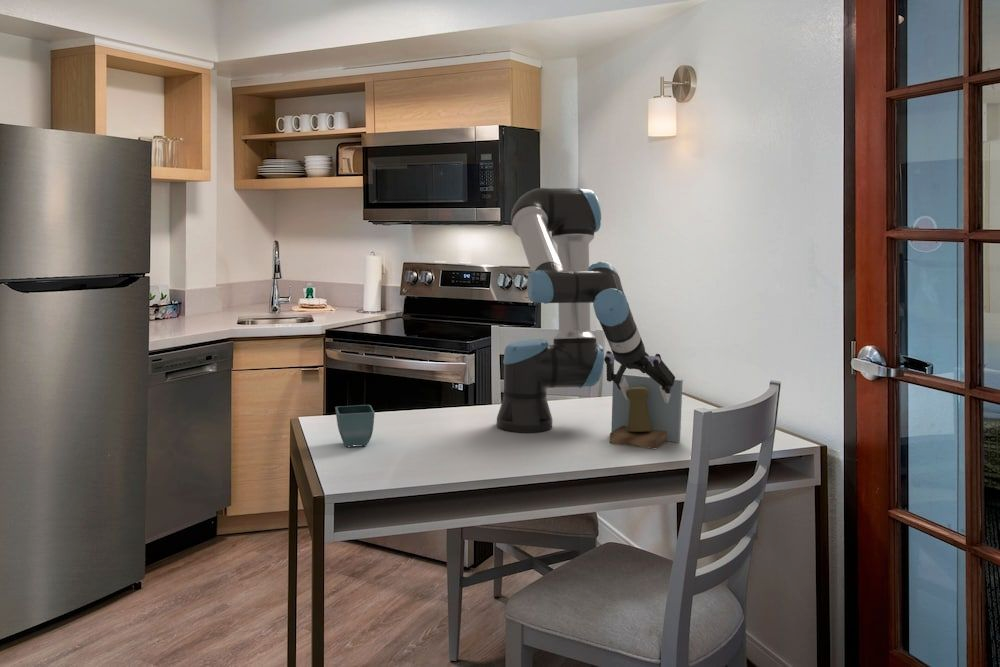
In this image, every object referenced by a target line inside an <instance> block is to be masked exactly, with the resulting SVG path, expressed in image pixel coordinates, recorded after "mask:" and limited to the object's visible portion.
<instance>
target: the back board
mask: <svg viewBox="0 0 1000 667" xmlns="http://www.w3.org/2000/svg"><path fill="white" fill-rule="evenodd" d="M614 374H617V372H614ZM622 376H625V378H626V380H627V383H628V385H629V387H630V388H633V387H644V388H646V389H647V390H648V398H647V399H646V401H647V407H648V413H649V419H650V425H651V430H659V431H667V441H666V442H670V441H672V442H671V443H677V442H678V443H680V442H681V429H682V428H681V427H682V406H683V405H682V403H683V402H682V401H683V400H682V399H683V381H684V380H683V379H681V378H675V381H674V384H673V386H671V390H670V394H671V395H670V399H669V402H668V403H665V401H664V398H663V396H662V393H661V391H660V388H659V387H660V384H658V383H657V382H656V381H655V380H654V379H652V378H651V377H650V376H649V375H642V374H641V375H640V374H632V373H631V374H629V373H623V375H622ZM611 400H612V401H611V403H612V405H611V432H613V431H614V430H616V429H618V428H619V427H621V426H628V420H629V409H630V399H628V400H626V399H625V397H624V395H623V392H622V390H619V389H618V387H617V385H616V383H614V381H612V399H611ZM611 432H610V433H611ZM679 441H680V442H679Z"/></svg>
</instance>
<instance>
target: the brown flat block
mask: <svg viewBox="0 0 1000 667" xmlns="http://www.w3.org/2000/svg"><path fill="white" fill-rule="evenodd" d="M610 442H612V443H611V444H616V443H619V444H618V445H623V444H627V445H626V446H630V445H634V446H633V447H637V446H641V447H640V448H644V447H650V448H649V449H651V448H657V447H658V448H659V447H661V446H662V445H663V444H665V443H667V442H668V441H667V431H659V430H651V431H642V432H633V431H628V426H621V427H619V428H618V429H616V430H614V431H613V432H610V433H609V443H610ZM664 442H665V443H664ZM661 444H662V445H661ZM660 445H661V446H660ZM658 448H657V449H658Z"/></svg>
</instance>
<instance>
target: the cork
mask: <svg viewBox="0 0 1000 667" xmlns="http://www.w3.org/2000/svg"><path fill="white" fill-rule="evenodd" d="M628 398H629V399H630V409H629V420H628V431H633V432H642V431H651V425H650V419H649V413H648V407H647V401H646V399H647V398H648V390H647V389H646V388H644V387H633V388H630V389H629V390H628Z"/></svg>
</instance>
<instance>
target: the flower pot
mask: <svg viewBox="0 0 1000 667" xmlns="http://www.w3.org/2000/svg"><path fill="white" fill-rule="evenodd" d="M334 408H335V409H334V410H335V416H336V417H335V418H336V424H337V429H338V432H339V436H340V437H341V440H342V443H343V444H344V446H345V447H346V446H353V445H368V444H369V443H370V441H371V439H372V436H373V432H374V423H375V422H374V421H375V413H376V412H375V410H374V409H373V407H372V405H370V404H359V405H345V406H343V405H342V406H335V407H334Z"/></svg>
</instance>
